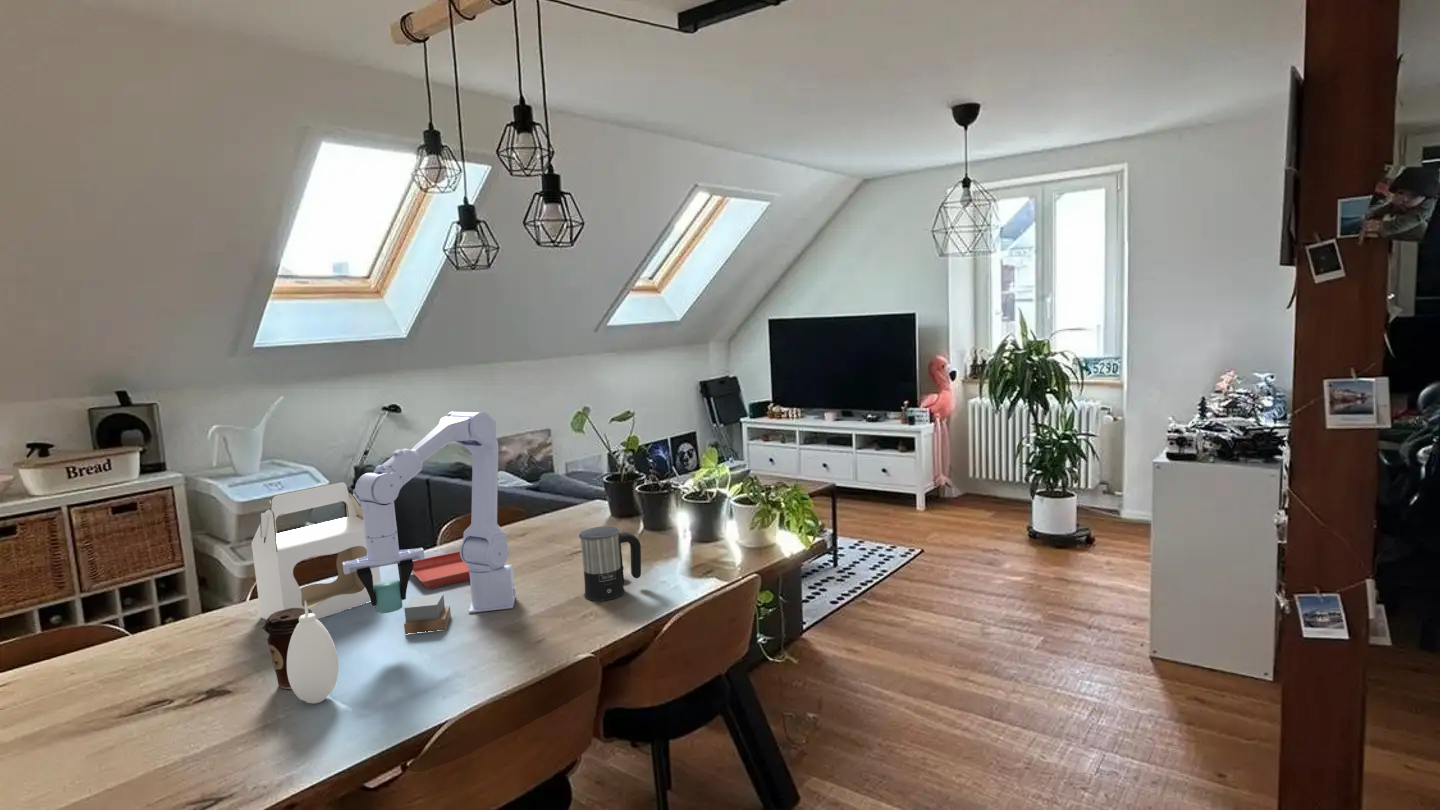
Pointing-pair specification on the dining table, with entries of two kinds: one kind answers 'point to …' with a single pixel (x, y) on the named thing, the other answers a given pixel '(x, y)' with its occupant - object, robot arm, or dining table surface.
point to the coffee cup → (282, 639)
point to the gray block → (424, 607)
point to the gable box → (310, 554)
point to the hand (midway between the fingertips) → (388, 601)
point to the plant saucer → (441, 570)
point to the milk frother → (607, 561)
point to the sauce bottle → (311, 660)
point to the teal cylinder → (388, 596)
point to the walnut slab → (429, 623)
